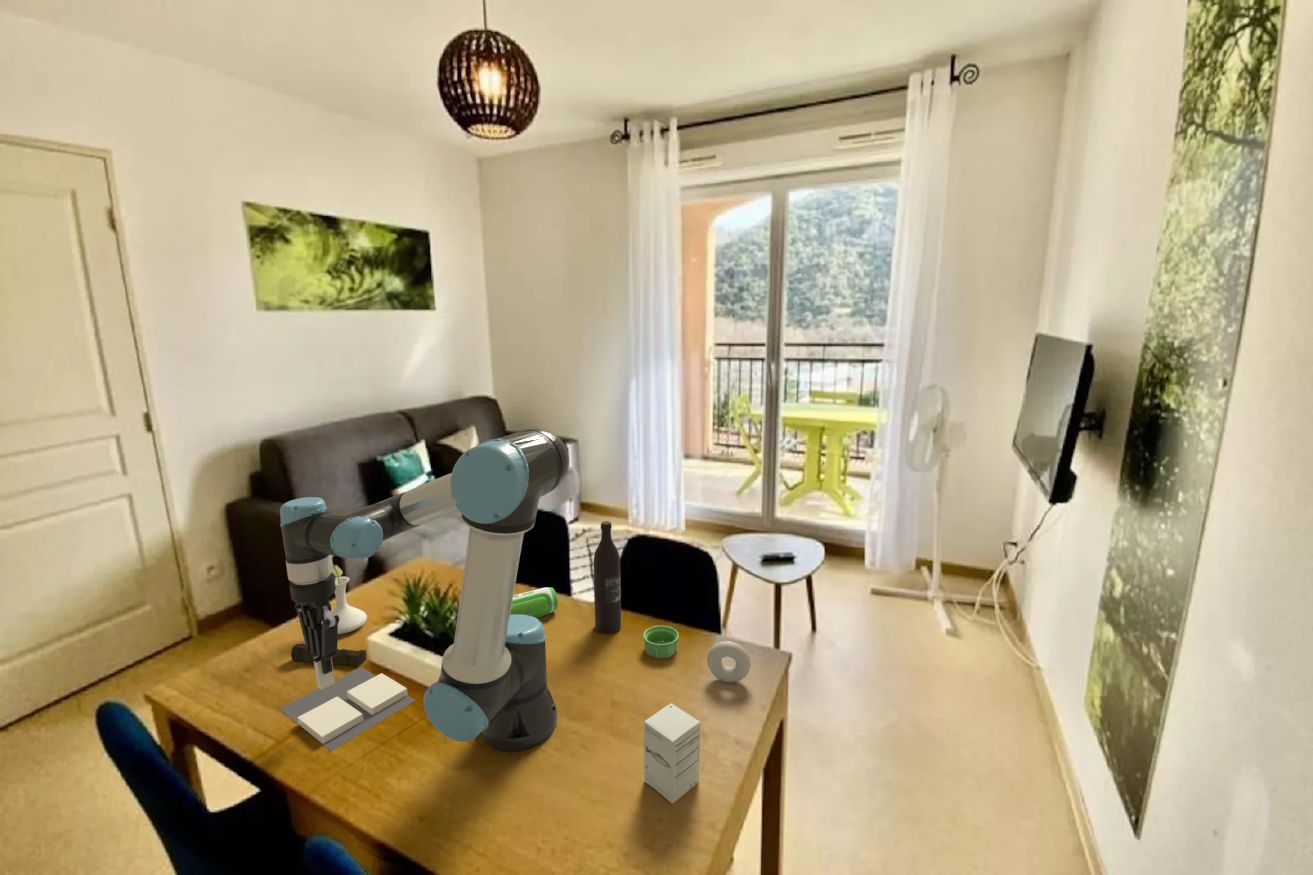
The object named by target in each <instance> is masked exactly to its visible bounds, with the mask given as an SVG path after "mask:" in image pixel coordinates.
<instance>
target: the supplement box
mask: <svg viewBox="0 0 1313 875" xmlns="http://www.w3.org/2000/svg"><path fill="white" fill-rule="evenodd" d="M643 726H644V729H643V730H644V731H643V733H644V736H643V738H644V739H643V742H644V743H643V747H644V748H643V754H644V755H643V756H644V757H643V764H644V765H643V773H644V774H643V781H644V783H646V784H647V785H649V786H650V787H651V788H653V789H654V790H655V791H657V792H658V794H660V795H661V796H662V797H664V798H665V799H666V800H667V801H668V802H669V803H671V804H672V805H673V804H674V803H676V802H677V801H679V800H680V798H682V797H683V796H684V795H685V794H686V793H688V792H689V791H690V790H691V789H693V788H694V786H696V785H697V784H698V783H699V781H700V778H699V777H700V758H701V756H700V751H701V750H700V749H701V721H700V720H698V719H697V718H695V717H693V716H692V715H691V714H689V713H687V711H684V710H683V709H681V708H680V707H678V706H676V705H675V704H674V703H671V702H670V704H668V705H666V706H664V707H663V708H662V709H660V710H658V711H657V712H656V713H654V714H653V715H651V716H650V717H648V718H647V719H646V720H645V721H644V723H643Z"/></svg>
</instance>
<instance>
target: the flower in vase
mask: <svg viewBox="0 0 1313 875" xmlns="http://www.w3.org/2000/svg"><path fill="white" fill-rule="evenodd" d="M332 573H333V574H334V577H335V585H336V590H335V592H334V595H335V600H336V601H335V603H336V605H335V608H334V609H333V610H331V614H332V615H333V616H336V615H338V616H339V623H338V635H342V634H343V635H344V634H348V633H350V632H352V631H355V630H357V629H359V628H360V627H362V626H363V625H364V624H365V623H366V621H367V619H368V615H367V614H366V612H365V611H363V610H362V609H359V608H357V607H355V606H351V605H349V604H348V602H347V599H346V587H347V584H348V582H349V581H350V577H348V576H343V570H342V569H341V567H339V566H338V564H335V565H334V564H333V572H332Z"/></svg>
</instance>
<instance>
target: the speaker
mask: <svg viewBox="0 0 1313 875" xmlns="http://www.w3.org/2000/svg"><path fill="white" fill-rule="evenodd" d="M558 602H559V601H558V595H557V592H556V590H555V589H554V588H553V587H550V586H549V587H541V588H537V589H534V590H530V591H529V590H528V591H526V592H521V593H517V594H513V600H512V606H511V612H510V615H528V616H532V617H534V618H537V619H540V618H542V617H545V616H546V615H549V614H551V613H553V612H555V611H556V610H558V606H559V603H558Z"/></svg>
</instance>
